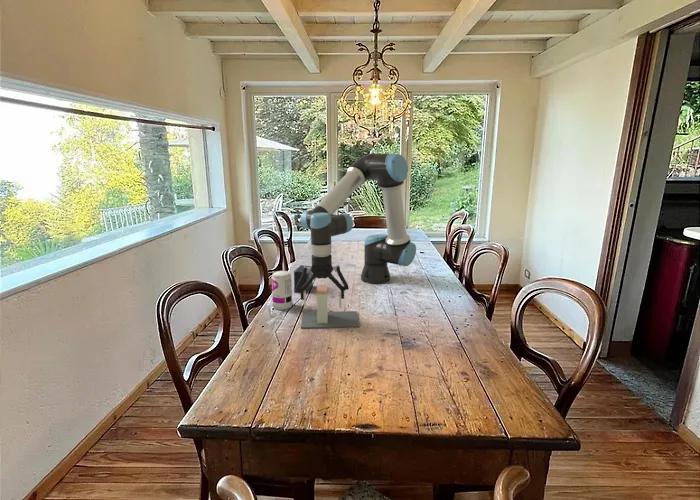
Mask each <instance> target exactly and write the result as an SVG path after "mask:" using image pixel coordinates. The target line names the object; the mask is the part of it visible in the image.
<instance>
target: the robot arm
mask: <svg viewBox="0 0 700 500" xmlns="http://www.w3.org/2000/svg"><path fill="white" fill-rule="evenodd" d="M408 166H409V165H408V162H407V160H406V158H405V157H404V156H403V155H401V154H400V153H393V152H390V153H374V152H371V153H367V154H366V155H363V156H361V157H360V158H358V159H357V160H355V161H354V162H353V163H352V164H351V165H350V166H349V167H348V168H347V170H346V174H345V175H343V177H342V178H341V179H340V180H339V181H338V182H337V183H336V184H335V185H334V187H332V188H331V190H330V191H329V192H328V193H327V194H326V195H325V196H324V197H323V198H322V199H321V201H319V203H318V204H317V205H316V206H315V207H313V209H312V210H305V211H303V212H302V214H301V215H300V217H299V220H300V221H299V222H300V225H301V226H302V227H303V228H304V229H307V230H309V231H310V246H311V248H310V249H311V251H310V252H311V254H312V255H311V266H312V267H307V266H308V265H303V266H304V271H303V274H302V276H301V278H300V280H299V282H298V284H297V286H296V291H300V300H301V301H303V309H304V310H305V309H307V293H306V290H305V289H306V288H307V287H308V286H309V285H310V283H311V282H312V281H313V282H314V280H315V279H318V280H319V279H327V278H328V279H329V280H331V282H332V283H333V284H334V285H335V286H336V287H337V288H338V307H339V308H342V300H344V298H345V292H346V290H347V291H348V290H349V288H350V287H349V284H348V282H347V280H346V279H345V277H344V275H343V273H342V271H341V267H340V265H339V264H338V265H337V264H336V266H332V263H333V262H332V261H333V260H332V258H333V257H332V237H335V236H339V235H345V234H346V233H349V232H351V231H352V230H353V228H354V221H353V217H351V215H350V214H347V213H340V214H336V212H337V211H338V210H339V208H340V207H342V205H343V204H344V203H345V202H346V200H347V199H348V198H349V197H350V196H351V195H352V194H353V193H354V191H355V190H356V189H358V187H359V186H362V185H364V184H365V183H366V182H367V181H373V180H374V181H377V187H378V188H379V189H381V194H382V201H383V207H384V214H385V216H384V217H385V222H386V223H385V224H386V229H387V234H385V233H384V234H383V233H380V234H372V235H369V236H366V237H365V239H364V244H363V246H364V253H363V254H364V261H363V262H364V265H363V268H362V271H361V273H360V280H361V281H362V282H364V283H367V284H371V285H372V284H374V285H379V284H380V285H381V284H387V283H388V282H390V281H391V273H390V271H389V266H388V264H392V265H398V266H401V267H409V266H410V265H411V264H412V263H413V261H414V259H415V257H416V255H417V246H416V244H415V243H414V242H411V238H410V235H409V234H407V229H406V228H407V227H406V220H405V211H404V203H403V202H404V201H403V194H402V193H403V192H402V186H403V184H404V183H405V180H407V177H408V173H409V167H408ZM309 271H311V272H312V273H313V274H312V275H311V277H310V278H309V279H308V280H307V282H306V283H305V284H304V285H303V286H302V288H301V287H300V286H301V284H302V282H303V280H304V278H305V276H306V273H308V272H309ZM333 271H334V272H335V273H337V275H338V277H339V280H340V281H341V282H342V283H341V282H340V281H339V280H338V279H337V278H336V277H335V276H334V275H333V274H332V272H333Z"/></svg>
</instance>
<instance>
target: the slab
mask: <svg viewBox="0 0 700 500" xmlns="http://www.w3.org/2000/svg"><path fill="white" fill-rule="evenodd" d="M328 307H329V306H328V286H316V312H317V323H328V312H329V310H328Z"/></svg>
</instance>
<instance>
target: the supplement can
mask: <svg viewBox="0 0 700 500" xmlns="http://www.w3.org/2000/svg"><path fill="white" fill-rule="evenodd" d="M292 285H293V284H292V274H291V273H290V271H288V270H276V271H274V272H272V275H271V295H272V297H271V298H272V307H273V308H274V309H276V310H279V311H282V310H288V309H291V307H292V306H293V293H292V292H293V286H292Z"/></svg>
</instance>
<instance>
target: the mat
mask: <svg viewBox="0 0 700 500" xmlns="http://www.w3.org/2000/svg"><path fill="white" fill-rule="evenodd" d="M358 316H359V315H358V312H357V310H351V311H350V310H349V311H345V310H344V311H342V310H340V311H328V323H317V311H307V312H304V311H303V312H302V316H301V324H300V329H301V330H302V329H307V330H309V329H343V328H346V329H347V328H349V329H350V328H360V322H359V317H358Z"/></svg>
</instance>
